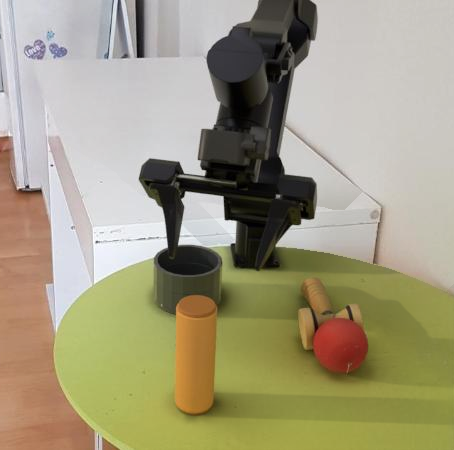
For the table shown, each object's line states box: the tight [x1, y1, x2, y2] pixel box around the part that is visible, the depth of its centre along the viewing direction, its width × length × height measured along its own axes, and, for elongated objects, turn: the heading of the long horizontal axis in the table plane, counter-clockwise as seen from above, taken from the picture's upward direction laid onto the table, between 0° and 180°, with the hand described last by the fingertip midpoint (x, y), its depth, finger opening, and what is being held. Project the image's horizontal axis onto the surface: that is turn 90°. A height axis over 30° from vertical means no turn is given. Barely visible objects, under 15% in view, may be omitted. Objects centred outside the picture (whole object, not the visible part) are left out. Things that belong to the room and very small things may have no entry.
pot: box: [153, 244, 223, 315], centre depth 96 cm, size 9×9×6 cm
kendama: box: [297, 277, 369, 374], centre depth 89 cm, size 8×6×18 cm
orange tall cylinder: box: [174, 295, 218, 416], centre depth 75 cm, size 4×4×12 cm
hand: (213, 264), depth 78 cm, fingers open, 9 cm apart
